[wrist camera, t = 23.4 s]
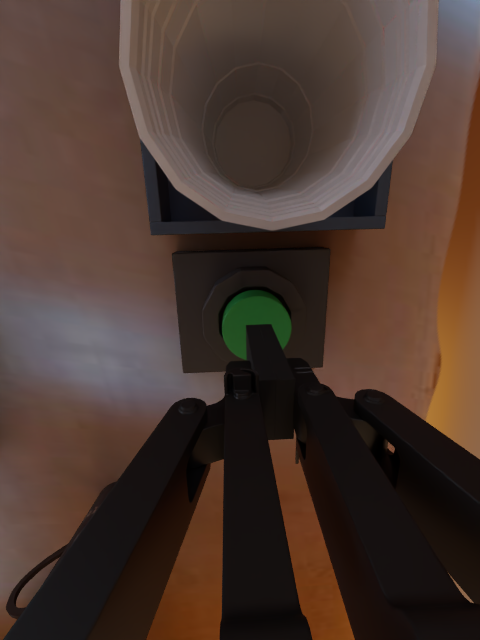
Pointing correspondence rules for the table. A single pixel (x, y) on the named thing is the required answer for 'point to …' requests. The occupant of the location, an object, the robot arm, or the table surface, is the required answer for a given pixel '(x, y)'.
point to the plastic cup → (276, 98)
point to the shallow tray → (190, 218)
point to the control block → (242, 275)
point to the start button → (253, 319)
